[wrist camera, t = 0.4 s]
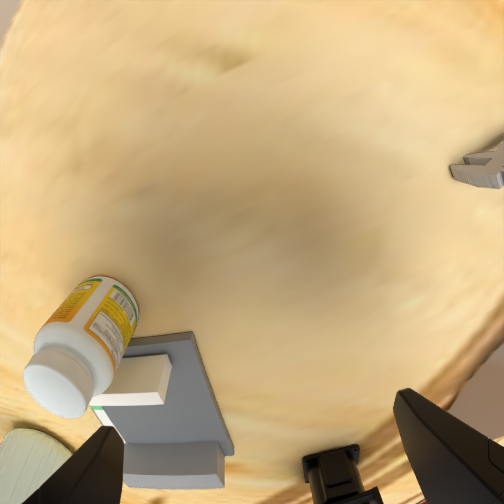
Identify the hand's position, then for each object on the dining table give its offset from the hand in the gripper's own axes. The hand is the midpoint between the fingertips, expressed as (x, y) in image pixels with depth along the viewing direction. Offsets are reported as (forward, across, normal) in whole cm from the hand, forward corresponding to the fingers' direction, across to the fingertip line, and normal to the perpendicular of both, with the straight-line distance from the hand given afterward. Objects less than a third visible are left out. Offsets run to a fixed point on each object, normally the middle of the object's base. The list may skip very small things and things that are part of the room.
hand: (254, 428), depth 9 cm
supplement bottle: (+14, +11, +2) cm, 18 cm away
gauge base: (+14, +10, +13) cm, 21 cm away
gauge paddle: (+12, +11, +7) cm, 18 cm away
